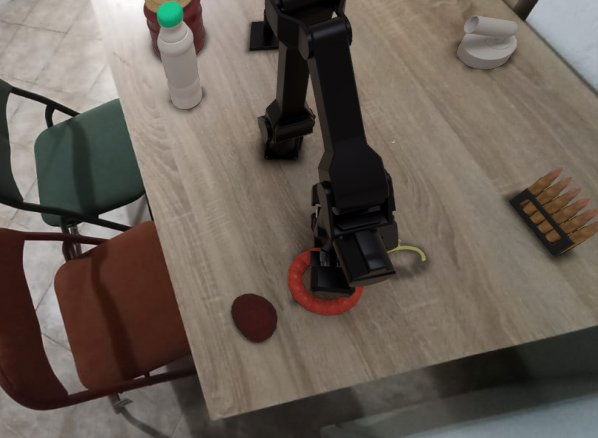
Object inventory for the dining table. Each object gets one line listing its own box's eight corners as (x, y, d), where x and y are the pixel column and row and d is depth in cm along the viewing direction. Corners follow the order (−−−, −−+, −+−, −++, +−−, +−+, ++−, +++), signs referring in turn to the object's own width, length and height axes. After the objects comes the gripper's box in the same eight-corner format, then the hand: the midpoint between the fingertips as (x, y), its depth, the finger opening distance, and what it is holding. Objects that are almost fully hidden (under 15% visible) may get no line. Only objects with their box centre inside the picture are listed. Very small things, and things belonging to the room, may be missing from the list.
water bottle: (167, 108, 101) (144, 21, 79) (177, 84, 103) (157, -7, 81) (196, 112, 98) (180, 24, 77) (206, 87, 101) (193, -5, 79)
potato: (268, 293, 79) (269, 284, 73) (283, 339, 75) (285, 333, 70) (228, 302, 80) (226, 293, 75) (240, 348, 76) (239, 342, 71)
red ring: (286, 312, 76) (287, 309, 74) (288, 247, 80) (289, 242, 78) (362, 321, 72) (365, 318, 70) (360, 252, 77) (363, 247, 75)
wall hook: (463, 2, 81) (527, -10, 79) (443, 41, 90) (501, 31, 87) (478, 36, 78) (546, 25, 75) (456, 73, 86) (516, 64, 83)
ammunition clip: (566, 252, 69) (622, 222, 59) (554, 256, 69) (607, 227, 59) (520, 197, 74) (563, 160, 64) (508, 200, 74) (550, 164, 64)
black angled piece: (249, 51, 102) (249, 25, 95) (251, 25, 105) (251, -2, 98) (286, 48, 99) (288, 22, 93) (287, 22, 102) (289, -5, 96)
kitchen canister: (171, 17, 112) (158, -47, 97) (215, 30, 107) (209, -36, 91) (143, 54, 110) (125, -6, 94) (187, 69, 104) (175, 8, 89)
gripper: (407, 287, 58) (378, 312, 71) (399, 164, 64) (374, 209, 78) (315, 279, 61) (304, 304, 75) (317, 163, 68) (306, 206, 82)
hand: (324, 254), depth 77 cm, fingers closed on red ring, 2 cm apart
